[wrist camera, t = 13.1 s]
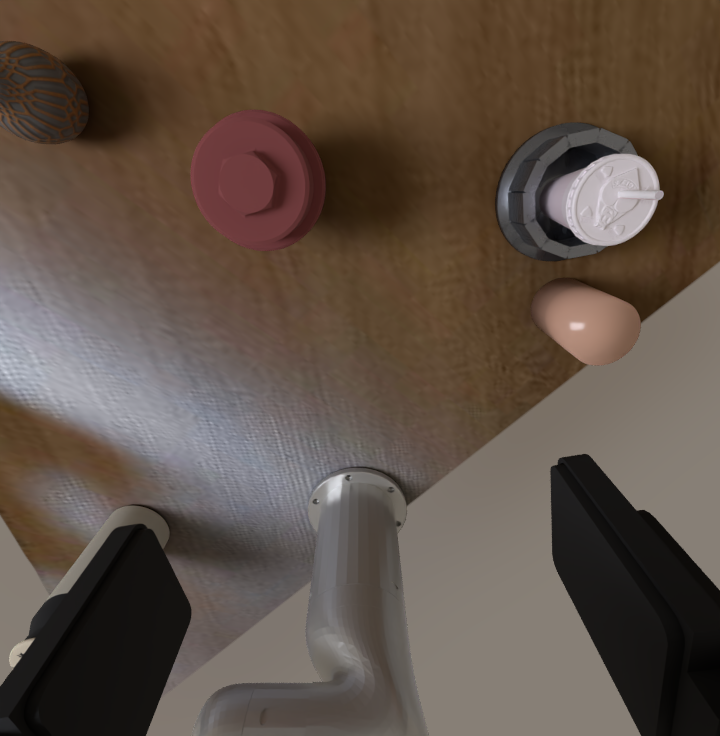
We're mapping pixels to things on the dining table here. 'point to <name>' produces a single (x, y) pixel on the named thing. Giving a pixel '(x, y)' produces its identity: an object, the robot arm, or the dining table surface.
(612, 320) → the peach rounded cylinder
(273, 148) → the mechanical component
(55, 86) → the vase
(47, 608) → the travel mug
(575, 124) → the ring socket
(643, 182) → the smoothie
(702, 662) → the robot arm
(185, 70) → the dining table surface
